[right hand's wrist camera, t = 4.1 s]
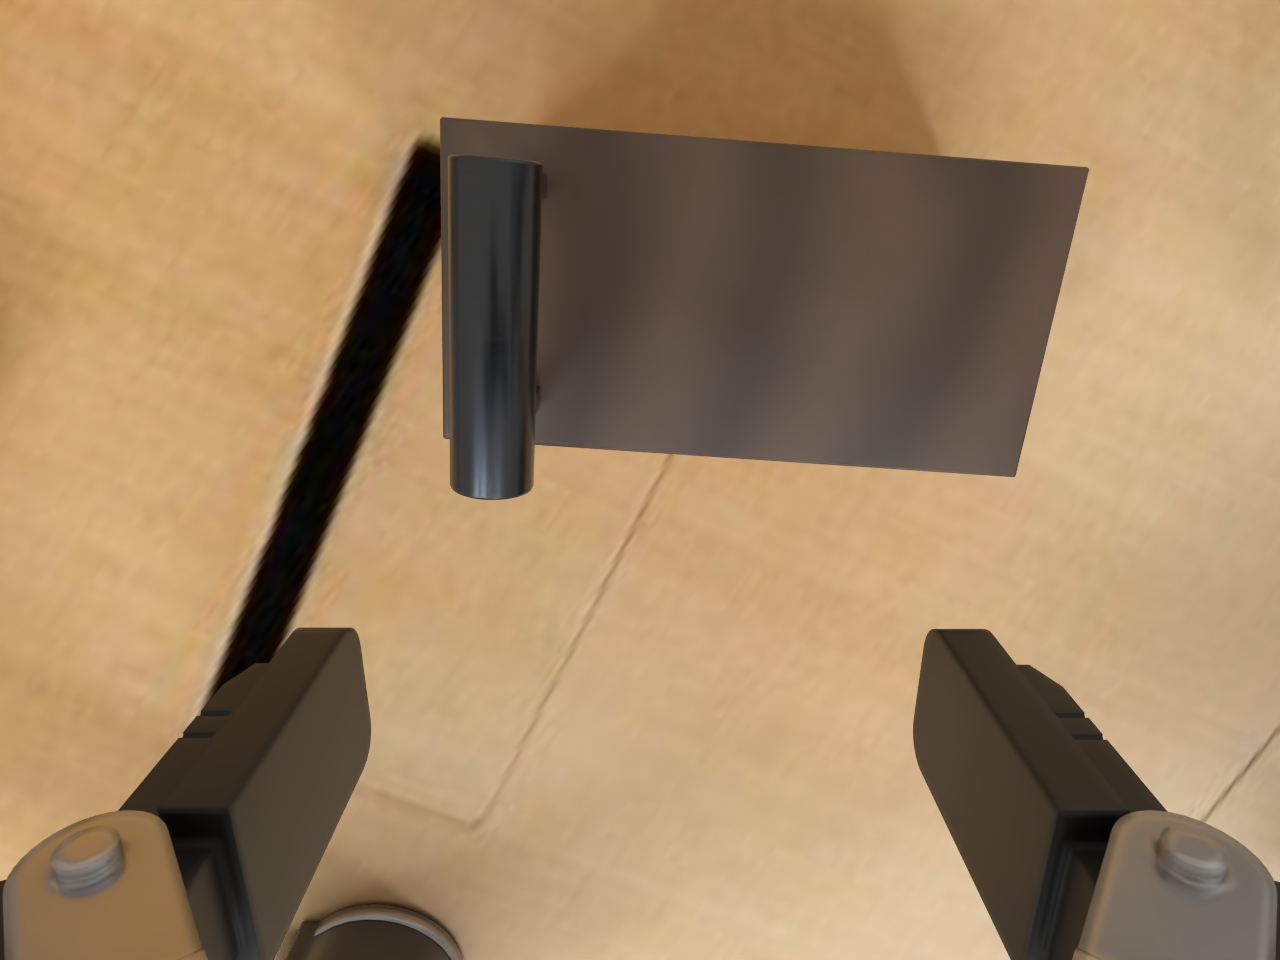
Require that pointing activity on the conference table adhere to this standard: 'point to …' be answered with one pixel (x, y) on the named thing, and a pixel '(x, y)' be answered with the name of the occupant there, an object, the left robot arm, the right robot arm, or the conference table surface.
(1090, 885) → the right robot arm
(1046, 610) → the conference table surface
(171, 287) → the conference table surface
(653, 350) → the lid
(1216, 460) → the conference table surface
